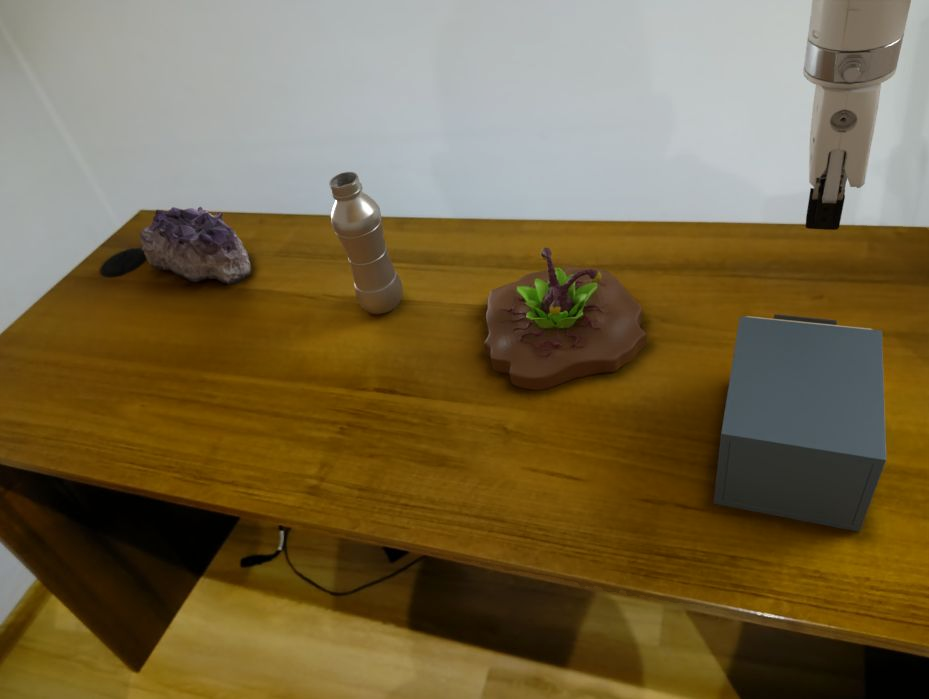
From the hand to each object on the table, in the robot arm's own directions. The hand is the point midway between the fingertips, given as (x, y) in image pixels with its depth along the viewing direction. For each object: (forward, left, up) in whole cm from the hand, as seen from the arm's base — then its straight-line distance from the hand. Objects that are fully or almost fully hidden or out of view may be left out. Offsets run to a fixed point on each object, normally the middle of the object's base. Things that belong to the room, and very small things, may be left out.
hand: (821, 224), depth 76 cm
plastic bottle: (+48, -25, -13) cm, 56 cm away
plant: (+27, -10, -13) cm, 32 cm away
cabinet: (+12, +17, -13) cm, 25 cm away
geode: (+74, -49, -13) cm, 90 cm away
